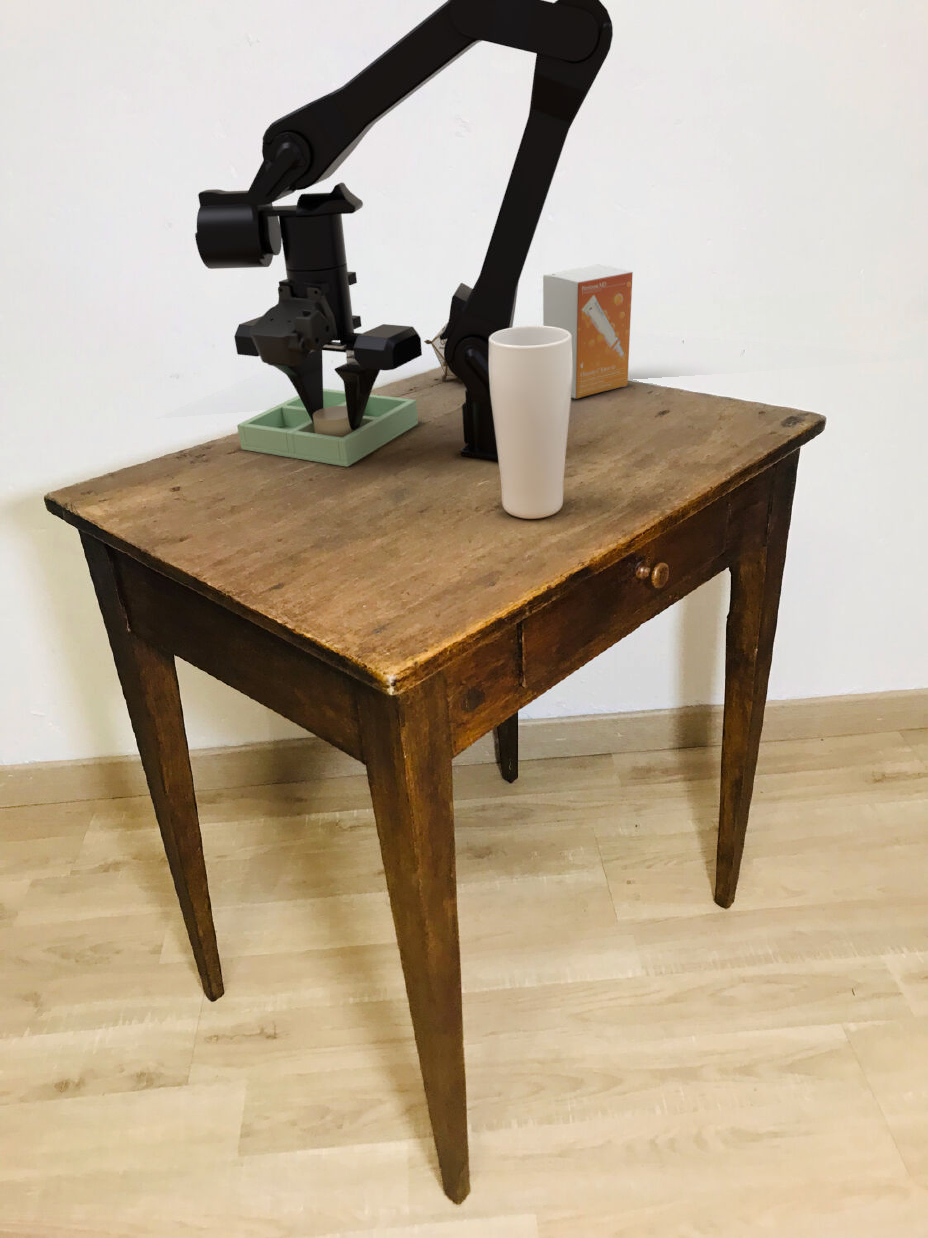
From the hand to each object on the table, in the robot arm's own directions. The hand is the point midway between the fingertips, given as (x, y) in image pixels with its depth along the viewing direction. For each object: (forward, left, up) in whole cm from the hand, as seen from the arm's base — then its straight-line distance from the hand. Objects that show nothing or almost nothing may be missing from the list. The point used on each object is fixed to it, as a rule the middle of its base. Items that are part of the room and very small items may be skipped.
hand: (336, 425), depth 97 cm
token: (0, 0, -1) cm, 1 cm away
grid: (+3, -3, -3) cm, 5 cm away
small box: (-16, -28, -3) cm, 32 cm away
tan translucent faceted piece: (-1, -26, -3) cm, 26 cm away
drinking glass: (-25, +6, -3) cm, 26 cm away
